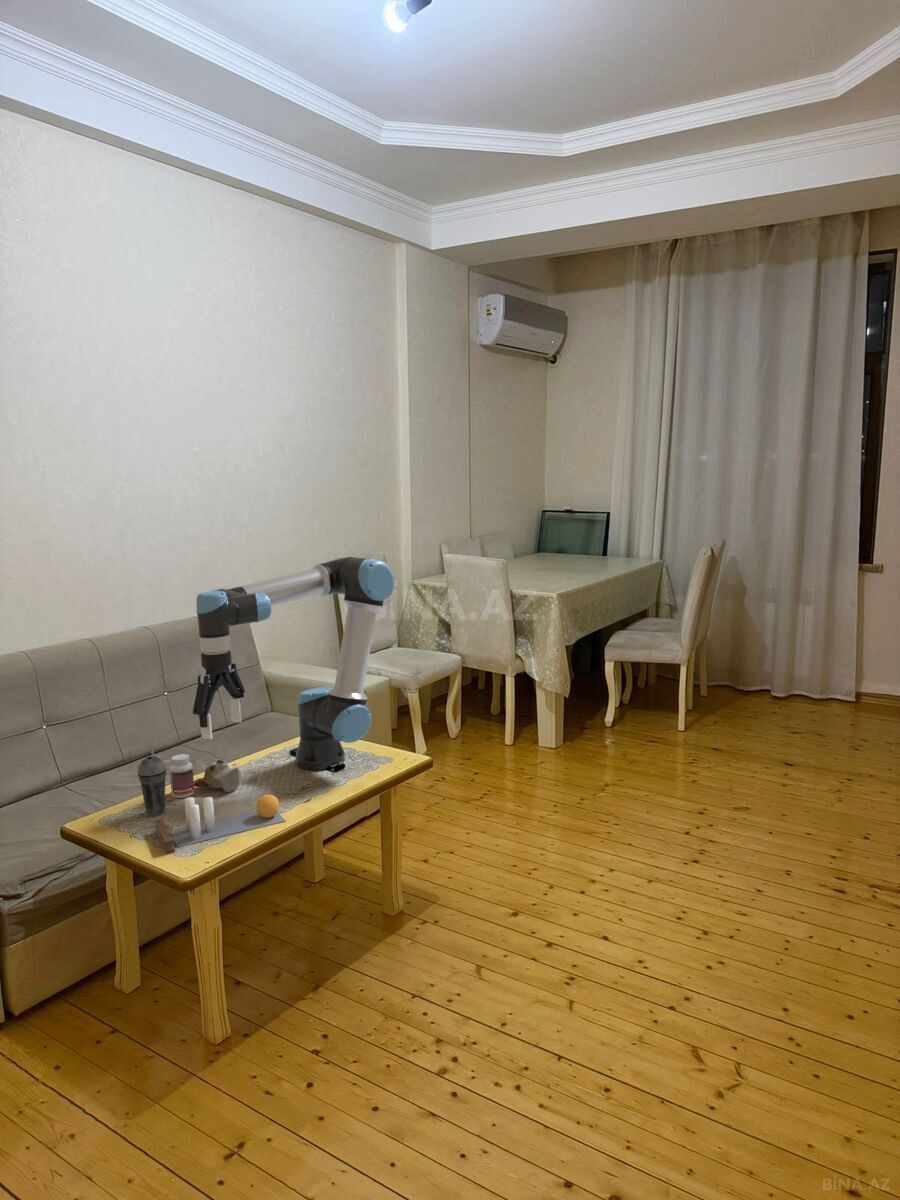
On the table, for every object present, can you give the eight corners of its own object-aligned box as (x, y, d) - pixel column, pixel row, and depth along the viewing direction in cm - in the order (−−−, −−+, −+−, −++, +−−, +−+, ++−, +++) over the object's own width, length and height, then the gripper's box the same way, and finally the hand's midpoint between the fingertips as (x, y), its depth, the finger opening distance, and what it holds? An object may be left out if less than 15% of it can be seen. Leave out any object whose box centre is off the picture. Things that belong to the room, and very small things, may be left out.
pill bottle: (199, 793, 226) (196, 756, 224) (179, 800, 221) (176, 762, 219) (187, 788, 230) (184, 751, 228) (167, 795, 225) (164, 757, 223)
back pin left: (200, 835, 199) (197, 803, 198) (202, 839, 197) (199, 806, 196) (190, 837, 198) (187, 805, 197) (192, 841, 196) (189, 808, 195)
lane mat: (273, 807, 215) (273, 807, 215) (285, 821, 206) (285, 820, 206) (169, 831, 202) (169, 831, 202) (177, 847, 193) (177, 846, 193)
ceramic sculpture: (223, 768, 220) (184, 763, 228) (226, 798, 221) (188, 792, 229) (250, 756, 229) (212, 751, 237) (253, 785, 231) (215, 780, 238)
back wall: (164, 829, 203) (163, 818, 203) (174, 851, 191) (173, 840, 191) (155, 831, 202) (154, 820, 202) (166, 853, 190) (165, 842, 190)
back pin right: (195, 827, 204) (193, 796, 202) (197, 831, 202) (195, 799, 200) (186, 830, 203) (183, 798, 201) (188, 833, 201) (185, 801, 199)
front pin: (214, 827, 204) (211, 796, 202) (216, 831, 201) (213, 799, 200) (204, 830, 202) (201, 798, 201) (206, 833, 200) (204, 801, 199)
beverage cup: (135, 816, 211) (128, 744, 208) (154, 805, 218) (148, 735, 215) (156, 820, 209) (150, 747, 206) (175, 809, 215) (170, 738, 212)
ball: (276, 810, 213) (274, 789, 212) (283, 818, 208) (281, 796, 207) (253, 815, 210) (252, 794, 209) (260, 824, 205) (259, 801, 204)
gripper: (230, 640, 219) (236, 714, 223) (173, 662, 196) (180, 744, 199) (254, 641, 217) (259, 716, 221) (199, 663, 194) (206, 747, 197)
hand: (222, 730), depth 210 cm, fingers open, 13 cm apart
